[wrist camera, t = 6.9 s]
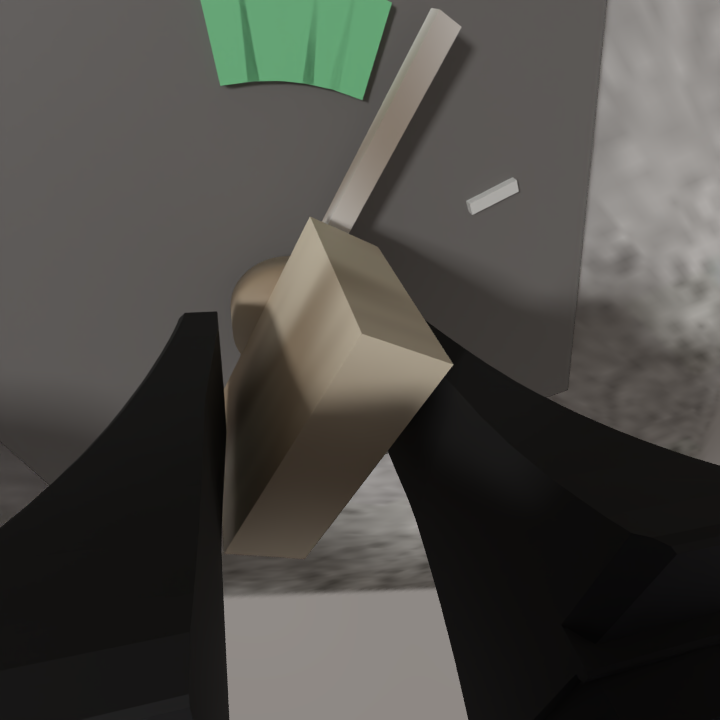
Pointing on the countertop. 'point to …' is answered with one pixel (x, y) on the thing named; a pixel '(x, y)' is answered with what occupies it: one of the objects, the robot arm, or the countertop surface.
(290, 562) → the countertop surface
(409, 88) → the peg
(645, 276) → the countertop surface
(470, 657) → the robot arm
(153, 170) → the dial board
